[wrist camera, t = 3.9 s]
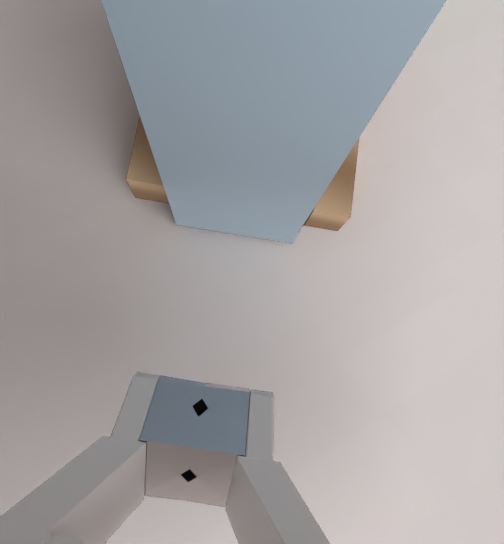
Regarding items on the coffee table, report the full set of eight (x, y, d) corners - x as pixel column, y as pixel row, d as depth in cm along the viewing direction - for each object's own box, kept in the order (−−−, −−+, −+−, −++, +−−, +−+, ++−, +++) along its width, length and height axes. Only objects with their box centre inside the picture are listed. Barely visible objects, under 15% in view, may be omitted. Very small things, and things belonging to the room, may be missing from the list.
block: (291, 243, 19) (483, -59, 5) (176, 224, 19) (53, -143, 5) (305, 138, 20) (499, -354, 6) (196, 119, 20) (141, -434, 6)
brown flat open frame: (337, 231, 19) (358, 208, 16) (135, 197, 19) (119, 168, 16) (373, -87, 23) (396, -152, 20) (203, -121, 22) (200, -192, 19)
